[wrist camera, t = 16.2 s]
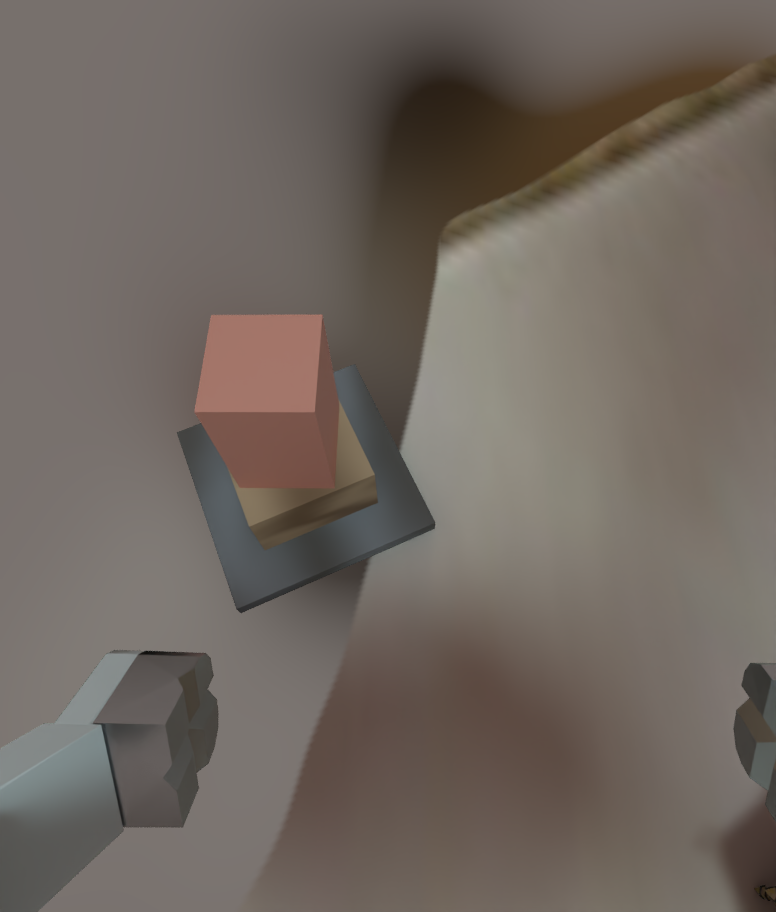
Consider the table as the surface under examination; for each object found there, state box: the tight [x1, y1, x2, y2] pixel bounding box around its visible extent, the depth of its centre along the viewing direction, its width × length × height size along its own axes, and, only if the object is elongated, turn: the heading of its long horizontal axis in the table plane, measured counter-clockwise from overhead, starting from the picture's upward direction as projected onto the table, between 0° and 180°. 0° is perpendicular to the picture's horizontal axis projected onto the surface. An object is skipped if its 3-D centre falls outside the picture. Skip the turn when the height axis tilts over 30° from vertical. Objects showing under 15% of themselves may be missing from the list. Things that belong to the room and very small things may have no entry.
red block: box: [195, 315, 339, 488], centre depth 31 cm, size 5×5×8 cm
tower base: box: [177, 365, 435, 613], centre depth 37 cm, size 12×12×5 cm
